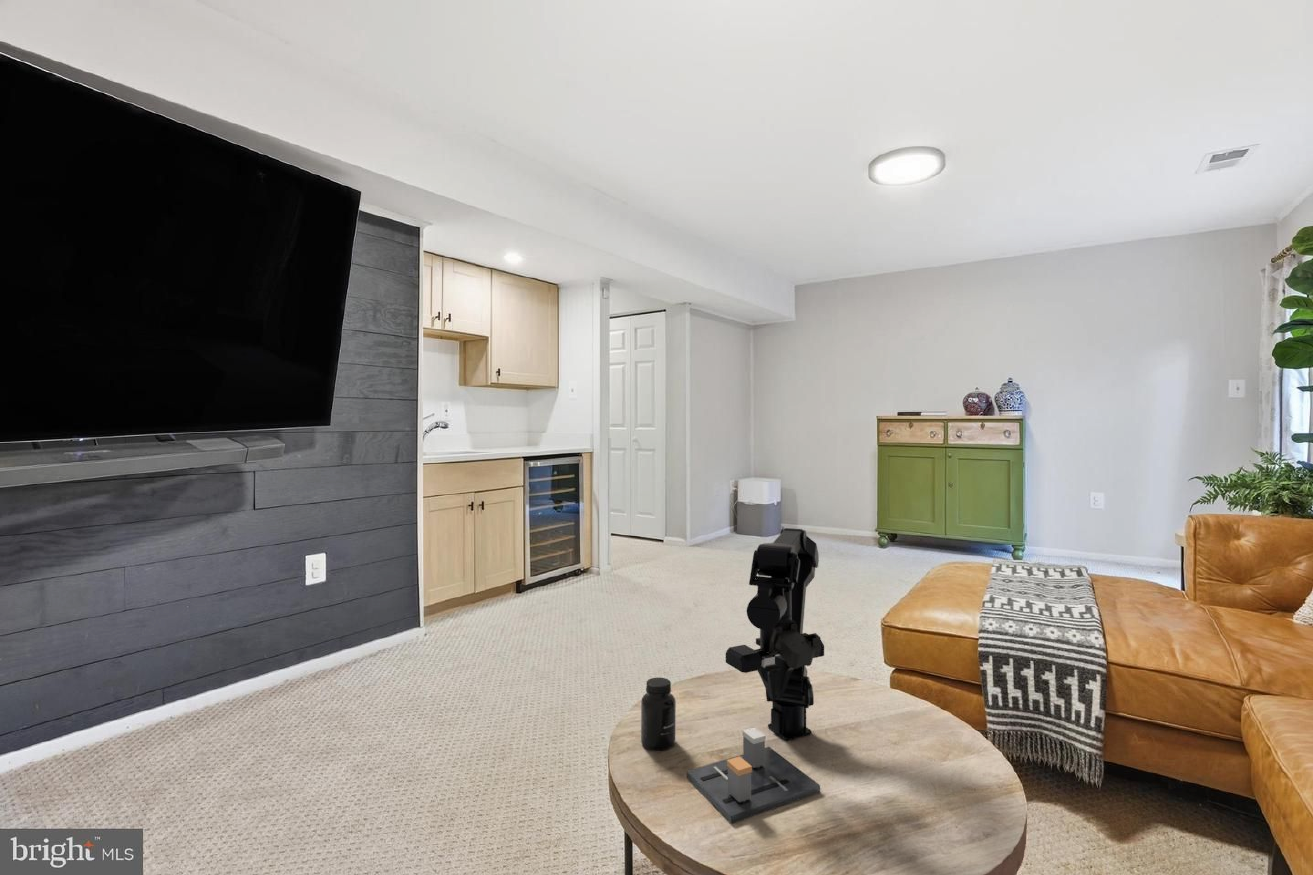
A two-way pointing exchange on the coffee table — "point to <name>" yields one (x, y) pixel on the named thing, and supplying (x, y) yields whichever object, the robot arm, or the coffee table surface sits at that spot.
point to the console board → (754, 786)
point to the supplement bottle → (658, 715)
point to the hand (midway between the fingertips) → (775, 698)
